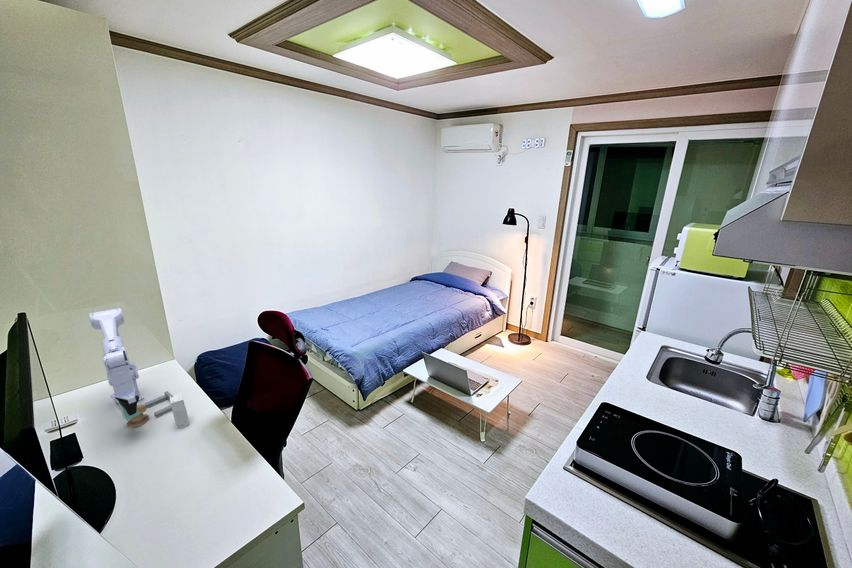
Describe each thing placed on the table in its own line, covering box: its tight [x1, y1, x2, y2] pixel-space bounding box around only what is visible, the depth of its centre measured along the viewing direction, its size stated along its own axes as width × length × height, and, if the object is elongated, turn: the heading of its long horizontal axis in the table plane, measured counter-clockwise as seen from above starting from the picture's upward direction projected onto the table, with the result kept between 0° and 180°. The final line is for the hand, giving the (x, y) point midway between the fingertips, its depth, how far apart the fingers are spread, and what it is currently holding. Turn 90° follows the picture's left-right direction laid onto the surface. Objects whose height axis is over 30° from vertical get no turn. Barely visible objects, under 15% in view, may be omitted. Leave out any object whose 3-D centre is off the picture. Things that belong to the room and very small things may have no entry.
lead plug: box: [118, 403, 139, 421], centre depth 131 cm, size 4×4×7 cm
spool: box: [126, 404, 150, 428], centre depth 139 cm, size 7×7×6 cm
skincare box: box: [169, 392, 190, 429], centre depth 138 cm, size 6×4×12 cm
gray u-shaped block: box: [144, 390, 174, 418], centre depth 148 cm, size 12×9×3 cm
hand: (130, 411), depth 131 cm, fingers closed on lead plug, 4 cm apart
